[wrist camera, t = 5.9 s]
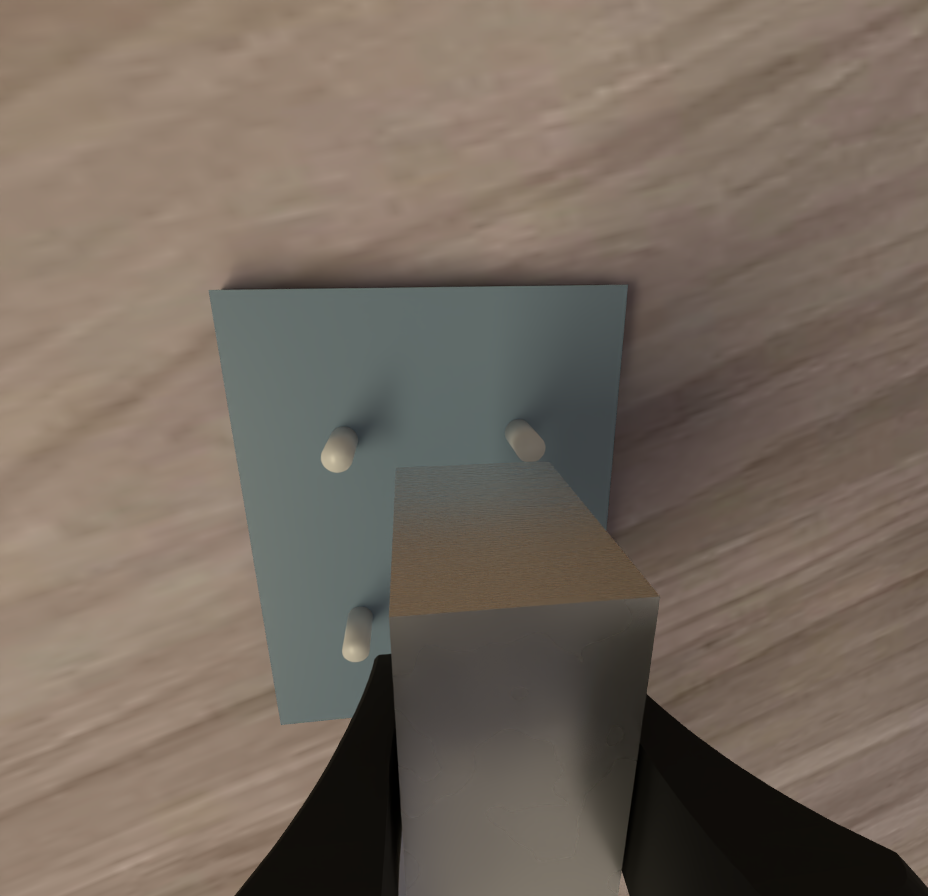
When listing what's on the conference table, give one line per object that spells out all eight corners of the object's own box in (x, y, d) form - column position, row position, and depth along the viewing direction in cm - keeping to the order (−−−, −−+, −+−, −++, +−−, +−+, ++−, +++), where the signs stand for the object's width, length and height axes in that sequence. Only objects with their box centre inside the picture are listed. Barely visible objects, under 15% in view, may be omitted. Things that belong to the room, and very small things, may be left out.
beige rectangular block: (536, 747, 16) (608, 997, 10) (411, 761, 16) (415, 1029, 10) (552, 460, 13) (666, 596, 7) (395, 467, 13) (388, 616, 7)
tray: (584, 676, 24) (608, 729, 21) (286, 706, 22) (269, 767, 20) (616, 284, 18) (655, 284, 15) (219, 289, 17) (181, 290, 14)
